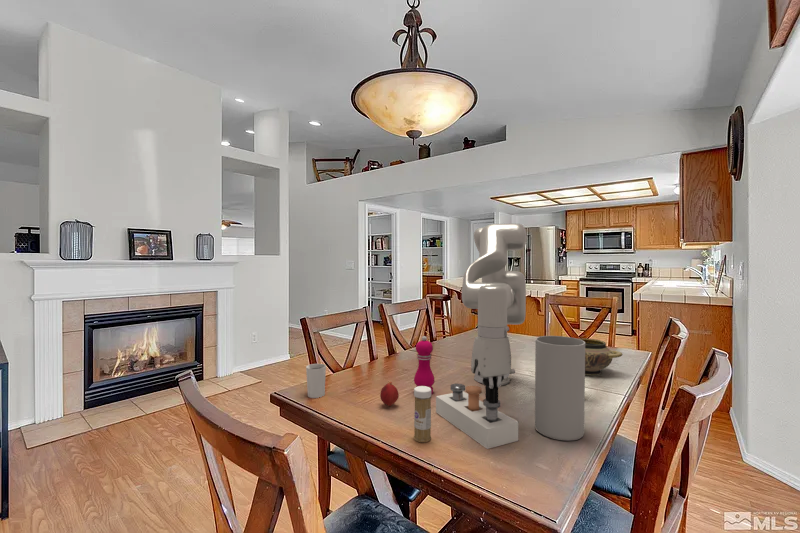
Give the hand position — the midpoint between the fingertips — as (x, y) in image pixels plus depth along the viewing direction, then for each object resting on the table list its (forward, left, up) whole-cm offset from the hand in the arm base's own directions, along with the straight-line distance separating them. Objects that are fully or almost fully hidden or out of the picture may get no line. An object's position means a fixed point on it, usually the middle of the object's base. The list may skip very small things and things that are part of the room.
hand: (491, 401), depth 102 cm
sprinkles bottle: (+17, -7, -10) cm, 21 cm away
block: (0, -8, -10) cm, 13 cm away
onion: (+16, -31, -10) cm, 36 cm away
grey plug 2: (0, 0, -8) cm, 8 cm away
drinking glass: (+35, -51, -10) cm, 63 cm away
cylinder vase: (-19, +5, -10) cm, 22 cm away
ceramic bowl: (-73, -29, -10) cm, 79 cm away
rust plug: (0, -8, -7) cm, 11 cm away
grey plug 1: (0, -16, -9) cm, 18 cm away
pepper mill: (0, -37, -10) cm, 38 cm away
